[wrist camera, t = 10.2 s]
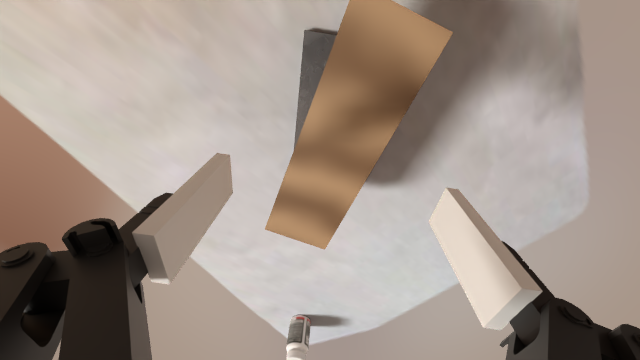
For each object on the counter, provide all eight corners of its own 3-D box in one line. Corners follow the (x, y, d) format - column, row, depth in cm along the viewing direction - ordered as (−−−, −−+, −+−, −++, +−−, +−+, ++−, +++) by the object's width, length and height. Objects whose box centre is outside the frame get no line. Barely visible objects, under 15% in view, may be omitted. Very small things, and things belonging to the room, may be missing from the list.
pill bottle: (287, 321, 54) (279, 362, 47) (297, 311, 52) (290, 354, 45) (304, 327, 56) (299, 369, 48) (314, 319, 53) (311, 361, 46)
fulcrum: (305, 30, 25) (295, 25, 19) (395, 45, 25) (413, 44, 19) (292, 173, 34) (283, 200, 28) (358, 183, 34) (363, 212, 28)
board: (352, -4, 18) (356, -18, 14) (429, 35, 19) (453, 32, 15) (274, 204, 29) (264, 229, 25) (326, 222, 30) (324, 249, 26)
